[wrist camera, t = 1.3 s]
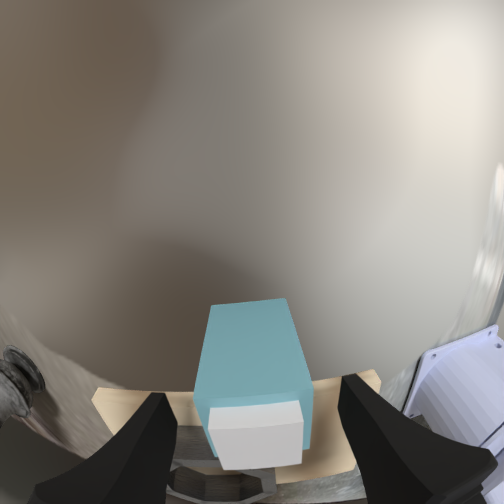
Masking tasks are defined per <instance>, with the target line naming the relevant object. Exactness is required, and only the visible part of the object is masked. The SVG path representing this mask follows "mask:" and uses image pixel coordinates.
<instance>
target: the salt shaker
mask: <svg viewBox="0 0 504 504" xmlns="http://www.w3.org/2000/svg"><path fill="white" fill-rule="evenodd" d="M3 356H4V360H1V359H0V428H1V426H2V425H3V423H4V422H5V420H6V419H7V418H8V417H9V416H11V415H13V414H16V415H18V416H19V417H22V418H29V416H30V408H31V407H32V401H33V394H32V391H33V392H36V393H40V392H43V390H44V389H45V383H44V379H43V377H42V375H41V373H40V371H39V370H38V368H37V367H36V365H35V364H34V363H33V362H32V360H31V359H30V358H29V357H28V356H27V355H26V354H25V353H23V352H22V351H21V350H20V349H18V348H16V347H14V346H11V345H8V346H6V347H5V348H4V351H3Z"/></svg>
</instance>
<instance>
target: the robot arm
mask: <svg viewBox="0 0 504 504" xmlns="http://www.w3.org/2000/svg"><path fill="white" fill-rule="evenodd" d="M498 329H499V327H498V325H496V324H495V325H492V326H490V327H488V328H486V329H483V330H481V331H479V332H476V333H474V334H472V335H469V336H467V337H464V338H462V339H459V340H457V341H454V342H451V343H448V344H446V345H443V346H440V347H437V348H434V349H431V350H428V351H426V352H425V353H423V355H422V357H421V360H420V363H419V366H418V370H417V373H416V376H415V379H414V382H413V385H412V388H411V391H410V394H409V397H408V400H407V402H406V405H405V408H404V410H403V413H401V412H400V411H398V410H397V409H396V408H395V407H393V406H392V405H391V404H390V403H388V402H387V401H386V400H385V399H383V398H382V397H381V396H380V395H379V394H378V393H377V392H375V391H374V390H373V389H372V388H371V387H370V386H369V385H368V384H367V383H366V382H365V381H364V380H363V379H362V378H361V377H359V376H358V375H357V374H356V373H355V374H350V375H345V376H342V378H341V386H340V393H339V400H338V406H337V409H338V413H339V417H340V420H341V424H342V428H343V430H344V433H345V435H346V438H347V440H348V442H349V445H350V447H351V450H352V452H353V455H354V457H355V459H356V462H357V464H358V467H359V470H360V473H361V476H362V480H363V484H364V487H365V492H366V496H367V500H368V504H504V341H503V340H502V339H500V338H499V337H498V336H497V332H498ZM421 414H422V415H423V417H424V418H425V420H426V421H427V423H428V425H429V426H430V428H431V429H432V431H433V432H432V431H430V430H428V429H426V428H425V427H423V426H421V425H419V424H418V423H416V422H414V421H413V420H411V418H413V417H416V416H419V415H421ZM177 426H178V422H177V420H176V417H175V415H174V413H173V410H172V408H171V406H170V403H169V401H168V399H167V396H166V394H165V392H151V393H150V394H149V396H148V397H147V398H146V399H145V400H144V402H143V403H142V404H141V405H140V407H139V408H138V409H137V410H136V412H135V413H134V414H133V415H132V416H131V418H130V419H129V420H128V421H127V422H126V423H125V424H124V426H123V427H122V428H121V429H120V430H119V431H118V432H117V433H116V434H115V435H114V436H113V437H112V438H111V439H110V440H109V441H108V442H107V443H106V444H105V445H104V446H103V447H102V448H100V449H99V450H98V451H97V452H96V453H94V454H93V455H92V456H90V457H89V458H88V459H86V460H85V461H83V462H82V463H80V464H79V465H77V466H76V467H74V468H72V469H71V470H69V471H67V472H65V473H63V474H61V475H59V476H57V477H55V478H52V479H49V480H47V481H44V482H42V483H39V484H36V485H35V487H34V489H33V492H32V494H31V496H30V498H29V501H28V503H27V504H165V499H166V489H167V482H168V477H169V473H170V468H171V464H172V459H173V455H174V450H175V445H176V438H177Z"/></svg>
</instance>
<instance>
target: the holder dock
mask: <svg viewBox="0 0 504 504" xmlns="http://www.w3.org/2000/svg"><path fill="white" fill-rule="evenodd" d="M354 374H355V373H354ZM356 374H357V375H358V376H359V377H361V378H362V379H363V380H364V381H365V382H366V383H367V384H368V385H369V386H370V387H371V388H372V389H373V390H374V391H375V392H377V393H378V394H379V390H380V386H381V381H380V379H379V377H378V376H377V374H376V372H375V371H374V369H371V370H367V371H363V372H358V373H356ZM349 375H350V374H349ZM341 378H342V376H339V377H335V378H329V379H324V380H318V381H312V384H313V387H314V394H313V410H312V424H311V436H310V447H309V449H305V450H302V461H301V464H295V465H288V466H280V467H270V468H259V469H242V470H224V469H223V467H222V465H221V462H220V460H219V457H215V456H214V454H213V451H212V449H211V446H210V444H209V441H208V439H207V436H206V434H205V431H204V429H203V426H202V423H201V421H200V418H199V415H198V412H197V409H196V407H195V404H194V401H193V395H194V392H165V394H166V396H167V399H168V401H169V403H170V406H171V408H172V410H173V413H174V415H175V417H176V420H177V422H178V426H177V438H176V445H175V450H174V455H173V459H172V464H171V468H170V473H169V477H168V482H167V489H166V493H168V494H171V495H174V496H177V497H179V498H182V499H186V500H189V501H192V502H195V503H199V504H250V503H253V502H256V501H258V500H261V499H263V498H266V497H268V496H271V495H273V494H275V493H277V486H276V484H281V483H289V482H296V481H303V480H309V479H314V478H320V477H325V476H330V475H334V474H338V473H343V472H347V471H351V470H353V469H354V466H355V464H356V459H355V457H354V455H353V452H352V450H351V447H350V445H349V442H348V440H347V438H346V435H345V433H344V430H343V428H342V424H341V420H340V417H339V413H338V409H337V406H338V400H339V393H340V386H341ZM151 392H155V391H136V390H122V389H111V388H101V387H98V389H97V391H96V392H95V394H94V396H93V398H92V402H93V404H94V405H95V407H96V409H97V410H98V412H99V413H100V415H101V417H102V418H103V420H104V421H105V423H106V424H107V426H108V427H109V429H110V430H111V432H112V433H113V435H115V434H116V433H117V432H118V431H119V430H120V429H121V428H122V427H123V426H124V424H125V423H126V422H127V421H128V420H129V419H130V418H131V416H132V415H133V414H134V413H135V412H136V410H137V409H138V408H139V407H140V405H141V404H142V403H143V402H144V400H145V399H146V398H147V397H148V396H149V394H150V393H151Z"/></svg>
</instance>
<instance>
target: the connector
mask: <svg viewBox="0 0 504 504" xmlns="http://www.w3.org/2000/svg"><path fill="white" fill-rule="evenodd" d="M313 394H314V387H313V384H312V381H311V378H310V374H309V371H308V368H307V364H306V361H305V358H304V355H303V352H302V349H301V345H300V342H299V339H298V336H297V333H296V330H295V326H294V323H293V320H292V317H291V314H290V311H289V308H288V305H287V302H286V299H285V298H283V299H273V300H264V301H254V302H244V303H233V304H224V305H223V304H222V305H212V306H211V311H210V315H209V320H208V325H207V329H206V334H205V339H204V344H203V349H202V354H201V359H200V364H199V369H198V374H197V379H196V384H195V389H194V395H193V401H194V404H195V407H196V409H197V412H198V415H199V418H200V421H201V423H202V426H203V429H204V431H205V434H206V436H207V439H208V441H209V444H210V446H211V449H212V451H213V454H214V456H215V457H219V460H220V462H221V465H222V467H223V469H224V470H242V469H259V468H270V467H280V466H288V465H295V464H301V461H302V450H305V449H309V447H310V436H311V424H312V410H313Z"/></svg>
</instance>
